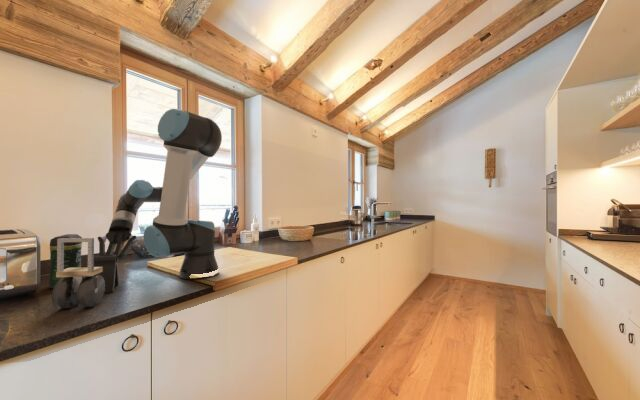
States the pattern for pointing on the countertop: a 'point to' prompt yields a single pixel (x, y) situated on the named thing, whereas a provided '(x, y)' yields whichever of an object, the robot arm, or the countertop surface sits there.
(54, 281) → the coffee jar
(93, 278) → the trolley
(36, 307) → the countertop surface
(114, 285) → the dark grey bin
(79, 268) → the trolley deck
